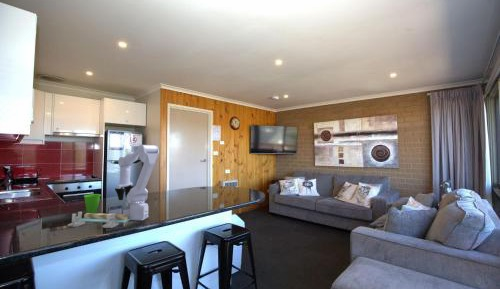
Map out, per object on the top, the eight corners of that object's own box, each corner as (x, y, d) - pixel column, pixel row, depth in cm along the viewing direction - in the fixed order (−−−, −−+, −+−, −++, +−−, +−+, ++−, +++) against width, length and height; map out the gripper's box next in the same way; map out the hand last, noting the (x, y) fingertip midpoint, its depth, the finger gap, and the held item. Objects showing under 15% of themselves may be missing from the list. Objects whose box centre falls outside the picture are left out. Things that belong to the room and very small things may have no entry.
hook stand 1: (85, 223, 131) (85, 211, 131) (77, 226, 125) (77, 214, 125) (76, 223, 131) (76, 211, 131) (67, 226, 125) (68, 214, 125)
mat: (133, 218, 143) (133, 216, 143) (124, 223, 133) (124, 221, 133) (89, 216, 144) (89, 215, 144) (77, 221, 134) (77, 220, 134)
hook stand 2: (118, 224, 130) (119, 212, 130) (111, 228, 124) (112, 215, 124) (109, 224, 130) (109, 212, 131) (102, 227, 124) (102, 215, 125)
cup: (92, 215, 146) (92, 197, 146) (79, 214, 148) (79, 196, 148) (103, 212, 155) (104, 194, 155) (91, 211, 157) (92, 193, 157)
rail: (127, 218, 138) (128, 214, 138) (125, 220, 136) (125, 215, 136) (87, 217, 140) (87, 212, 140) (84, 218, 138) (84, 214, 138)
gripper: (125, 175, 159) (124, 196, 158) (111, 177, 144) (110, 201, 144) (135, 175, 158) (135, 196, 158) (123, 177, 144) (122, 201, 143)
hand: (124, 198), depth 151 cm, fingers open, 7 cm apart
